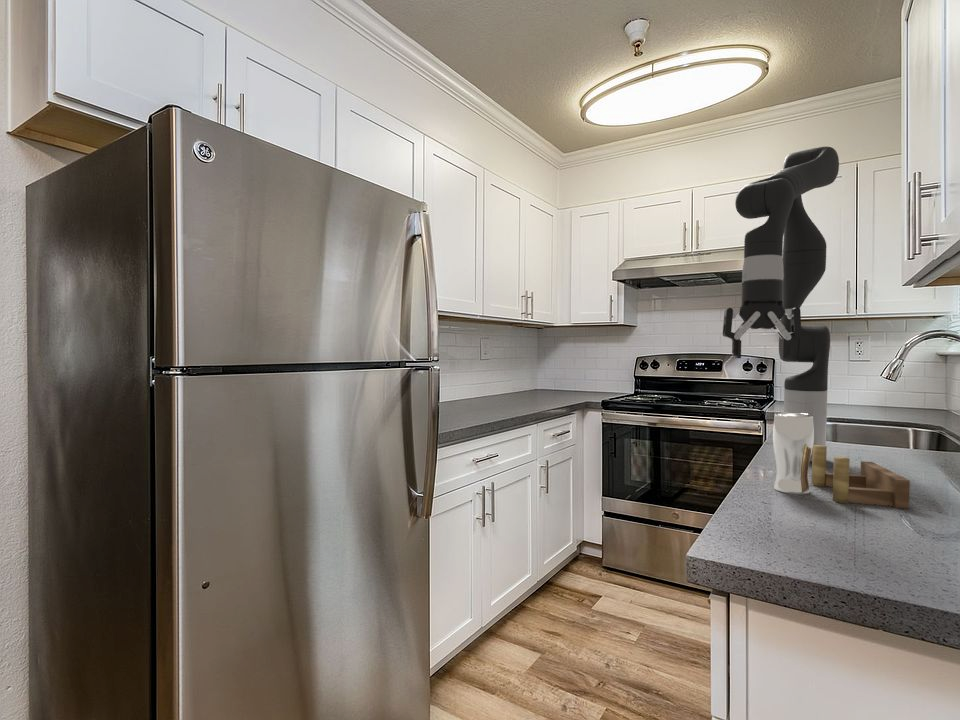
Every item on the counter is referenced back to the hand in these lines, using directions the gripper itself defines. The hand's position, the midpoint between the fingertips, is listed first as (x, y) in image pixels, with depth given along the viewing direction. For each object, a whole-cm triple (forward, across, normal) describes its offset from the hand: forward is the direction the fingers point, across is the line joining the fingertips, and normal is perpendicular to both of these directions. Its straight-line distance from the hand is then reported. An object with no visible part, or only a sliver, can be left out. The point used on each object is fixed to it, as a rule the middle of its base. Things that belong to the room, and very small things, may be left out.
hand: (760, 358), depth 112 cm
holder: (+26, -15, +5) cm, 30 cm away
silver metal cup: (+26, -5, +4) cm, 27 cm away
